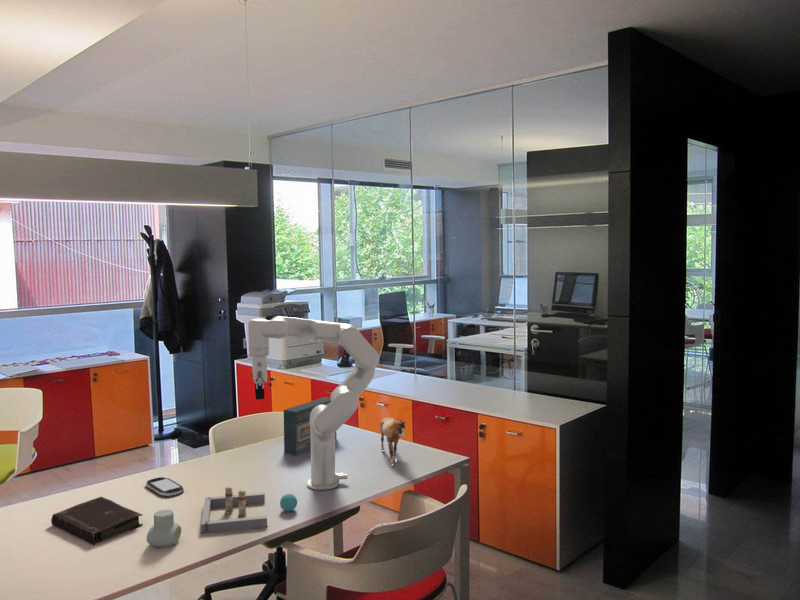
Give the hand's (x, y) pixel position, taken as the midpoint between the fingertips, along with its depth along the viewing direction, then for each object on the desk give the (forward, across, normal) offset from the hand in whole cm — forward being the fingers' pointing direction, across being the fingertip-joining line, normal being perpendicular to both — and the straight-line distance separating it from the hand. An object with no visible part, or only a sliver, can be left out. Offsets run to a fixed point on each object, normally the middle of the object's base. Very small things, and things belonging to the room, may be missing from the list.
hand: (259, 396), depth 245 cm
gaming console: (+38, +10, +36) cm, 53 cm away
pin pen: (+37, -22, +9) cm, 44 cm away
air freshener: (+37, -38, +31) cm, 61 cm away
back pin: (+37, -18, +12) cm, 42 cm away
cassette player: (+37, +50, -25) cm, 67 cm away
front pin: (+37, -22, +7) cm, 43 cm away
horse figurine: (+37, +25, -60) cm, 75 cm away
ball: (+34, -22, -9) cm, 41 cm away
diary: (+38, -19, +54) cm, 69 cm away
